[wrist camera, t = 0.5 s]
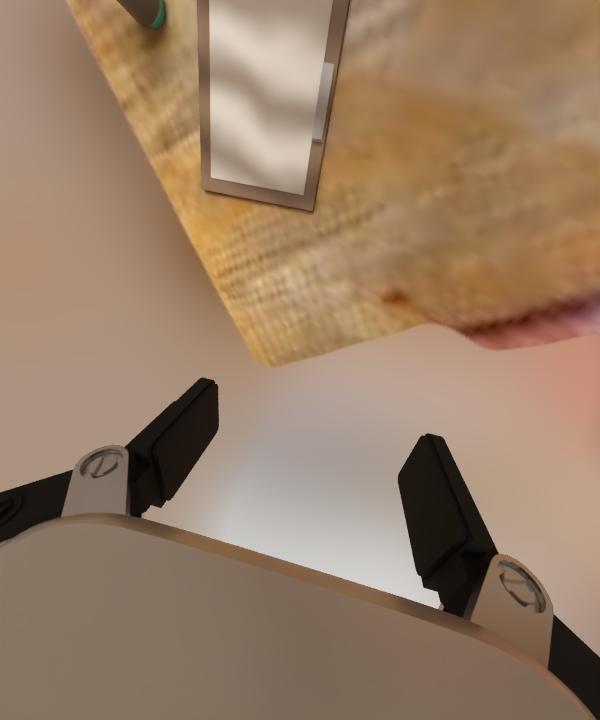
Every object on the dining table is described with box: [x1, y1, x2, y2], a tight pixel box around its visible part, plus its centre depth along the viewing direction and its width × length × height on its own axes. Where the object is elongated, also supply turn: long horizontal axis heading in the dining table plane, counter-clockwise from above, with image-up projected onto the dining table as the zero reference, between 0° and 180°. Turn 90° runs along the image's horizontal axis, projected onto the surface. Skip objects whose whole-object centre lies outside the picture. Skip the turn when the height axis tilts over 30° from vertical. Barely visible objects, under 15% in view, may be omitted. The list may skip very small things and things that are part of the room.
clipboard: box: [197, 0, 350, 212], centre depth 27 cm, size 20×16×2 cm
